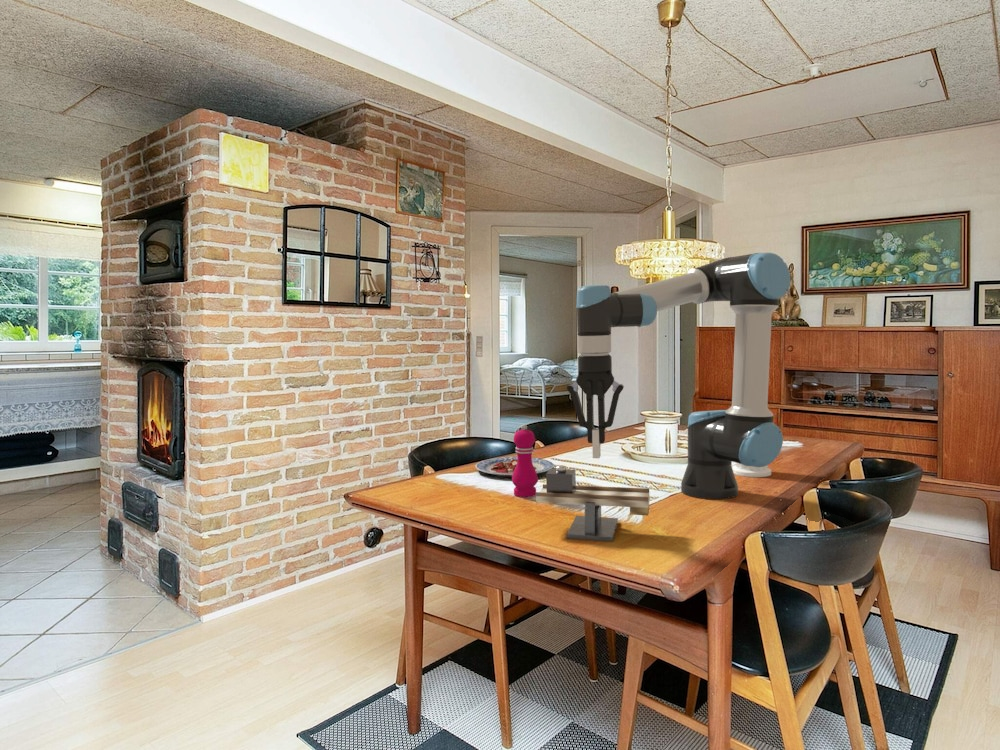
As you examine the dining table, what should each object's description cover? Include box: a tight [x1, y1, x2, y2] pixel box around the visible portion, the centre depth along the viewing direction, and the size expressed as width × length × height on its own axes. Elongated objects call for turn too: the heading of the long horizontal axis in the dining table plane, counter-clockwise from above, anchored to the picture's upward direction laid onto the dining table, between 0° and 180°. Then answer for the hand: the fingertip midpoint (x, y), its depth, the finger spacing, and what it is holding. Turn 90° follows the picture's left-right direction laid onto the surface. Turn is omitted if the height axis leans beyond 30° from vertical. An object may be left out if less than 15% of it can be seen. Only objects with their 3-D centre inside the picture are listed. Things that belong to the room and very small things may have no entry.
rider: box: [545, 465, 577, 494], centre depth 148 cm, size 6×5×6 cm
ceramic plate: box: [474, 456, 555, 478], centre depth 208 cm, size 26×26×3 cm
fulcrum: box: [566, 502, 619, 543], centre depth 146 cm, size 10×14×8 cm
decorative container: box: [732, 462, 772, 478], centre depth 199 cm, size 12×12×18 cm
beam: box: [535, 483, 650, 516], centre depth 146 cm, size 25×8×4 cm, turn 75°
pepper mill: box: [511, 424, 539, 498], centre depth 178 cm, size 7×7×20 cm
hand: (596, 456), depth 145 cm, fingers closed
